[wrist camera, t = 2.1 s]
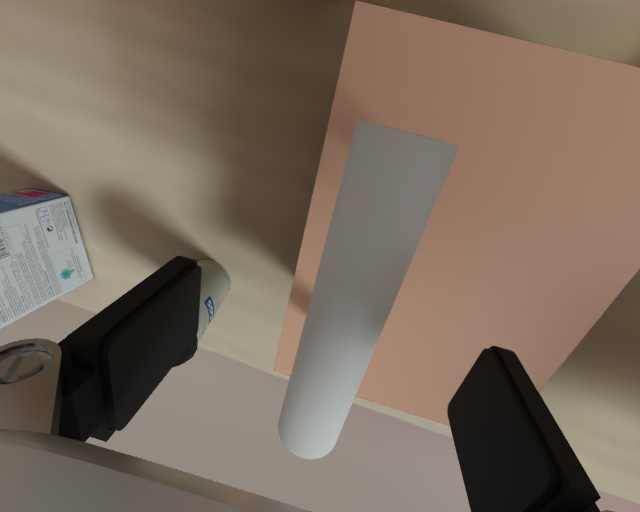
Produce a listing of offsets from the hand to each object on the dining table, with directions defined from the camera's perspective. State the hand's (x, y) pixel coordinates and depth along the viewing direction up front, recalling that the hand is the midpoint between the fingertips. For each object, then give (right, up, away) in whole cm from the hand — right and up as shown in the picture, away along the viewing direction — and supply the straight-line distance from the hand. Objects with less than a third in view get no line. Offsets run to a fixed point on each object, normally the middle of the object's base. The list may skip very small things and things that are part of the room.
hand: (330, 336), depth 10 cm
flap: (+7, +2, +7) cm, 10 cm away
